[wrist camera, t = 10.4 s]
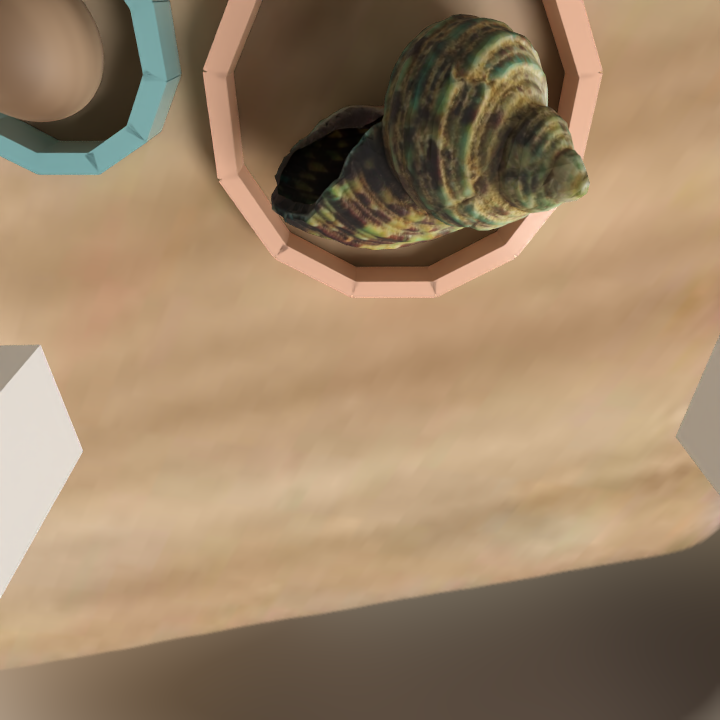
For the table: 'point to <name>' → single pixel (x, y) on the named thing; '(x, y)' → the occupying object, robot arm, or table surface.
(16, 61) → the brown egg
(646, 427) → the table surface
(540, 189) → the seashell
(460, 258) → the pink segmented ring
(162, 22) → the teal segmented ring
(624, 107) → the table surface
